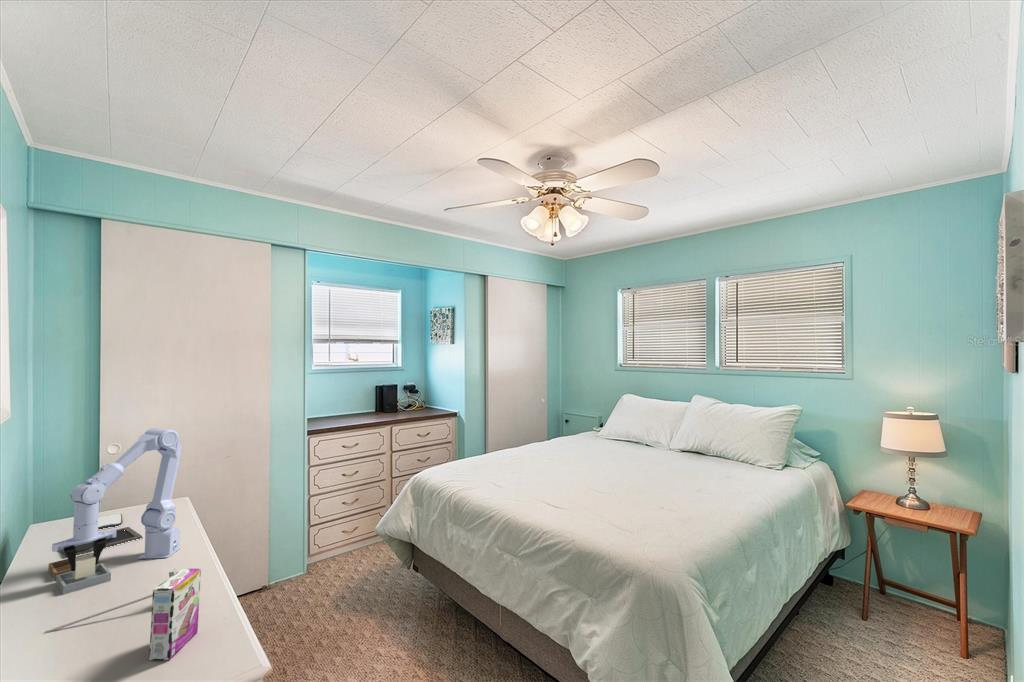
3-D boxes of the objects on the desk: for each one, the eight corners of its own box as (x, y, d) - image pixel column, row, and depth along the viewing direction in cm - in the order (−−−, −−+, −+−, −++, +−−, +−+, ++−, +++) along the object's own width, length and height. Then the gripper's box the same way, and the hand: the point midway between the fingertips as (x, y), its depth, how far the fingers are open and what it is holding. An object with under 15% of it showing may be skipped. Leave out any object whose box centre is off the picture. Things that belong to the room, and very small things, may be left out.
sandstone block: (94, 573, 142) (95, 557, 143) (75, 579, 139) (76, 562, 139) (91, 569, 145) (92, 553, 145) (72, 574, 142) (72, 558, 142)
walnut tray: (100, 568, 150) (100, 561, 151) (54, 581, 142) (55, 573, 142) (92, 559, 157) (92, 552, 157) (48, 571, 148) (48, 563, 148)
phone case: (94, 521, 194) (93, 532, 182) (95, 517, 194) (93, 527, 182) (122, 517, 199) (122, 527, 187) (122, 513, 200) (122, 523, 187)
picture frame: (66, 559, 158) (142, 540, 175) (67, 554, 158) (142, 535, 175) (55, 548, 167) (128, 530, 184) (56, 542, 167) (128, 525, 184)
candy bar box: (170, 661, 106) (173, 589, 107) (148, 662, 106) (150, 590, 106) (199, 632, 117) (201, 567, 118) (179, 632, 117) (181, 567, 117)
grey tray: (110, 580, 143) (111, 572, 143) (63, 594, 134) (63, 586, 134) (101, 570, 149) (102, 563, 149) (56, 583, 141) (56, 575, 141)
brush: (52, 646, 119) (47, 609, 119) (181, 599, 133) (175, 567, 133) (47, 652, 116) (41, 615, 116) (179, 604, 130) (174, 571, 130)
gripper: (112, 513, 151) (111, 555, 150) (50, 526, 139) (48, 571, 139) (118, 518, 146) (117, 561, 146) (55, 532, 135) (53, 579, 134)
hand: (84, 567), depth 142 cm, fingers closed on sandstone block, 4 cm apart
